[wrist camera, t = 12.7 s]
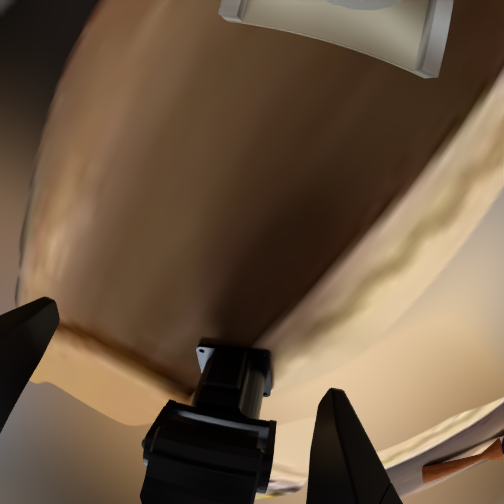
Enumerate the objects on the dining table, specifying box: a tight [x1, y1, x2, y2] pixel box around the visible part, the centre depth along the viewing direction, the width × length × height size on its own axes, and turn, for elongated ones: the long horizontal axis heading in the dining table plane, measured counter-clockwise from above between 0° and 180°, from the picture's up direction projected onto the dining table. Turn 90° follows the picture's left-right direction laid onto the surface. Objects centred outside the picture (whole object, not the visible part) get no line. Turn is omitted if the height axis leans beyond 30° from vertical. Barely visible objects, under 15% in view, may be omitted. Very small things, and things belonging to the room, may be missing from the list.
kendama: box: [422, 438, 504, 483], centre depth 31 cm, size 6×6×20 cm
